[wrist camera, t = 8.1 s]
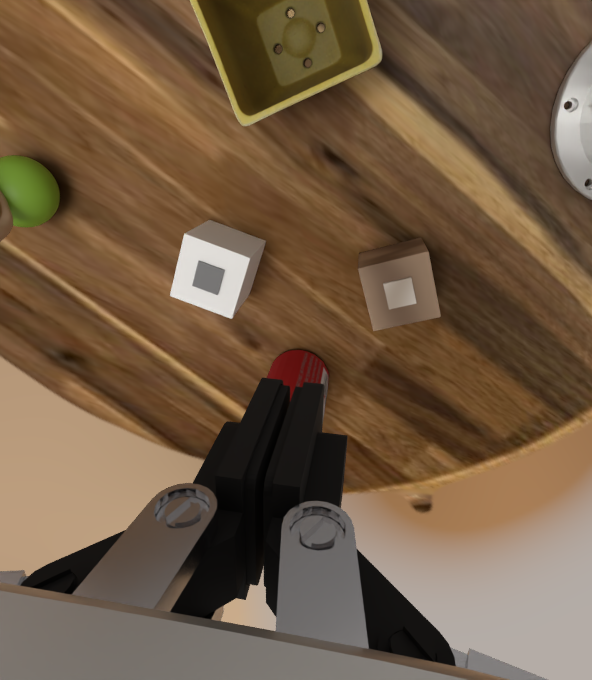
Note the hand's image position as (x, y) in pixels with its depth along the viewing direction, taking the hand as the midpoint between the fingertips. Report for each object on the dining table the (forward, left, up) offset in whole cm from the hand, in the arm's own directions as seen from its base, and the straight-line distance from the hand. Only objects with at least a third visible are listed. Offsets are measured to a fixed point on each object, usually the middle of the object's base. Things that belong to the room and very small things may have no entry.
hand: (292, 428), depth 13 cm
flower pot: (+4, -13, -28) cm, 31 cm away
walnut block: (-5, +3, -28) cm, 28 cm away
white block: (+9, +3, -28) cm, 29 cm away
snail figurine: (+25, -1, -28) cm, 38 cm away
